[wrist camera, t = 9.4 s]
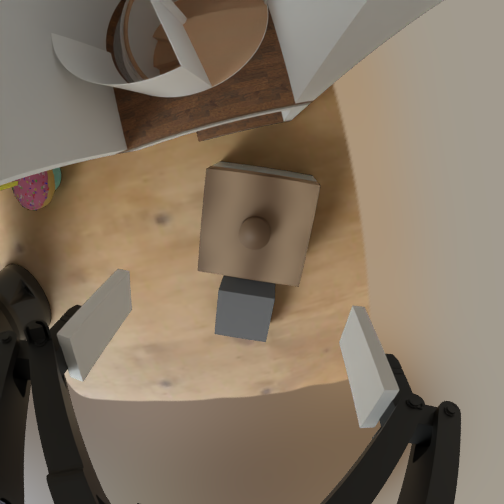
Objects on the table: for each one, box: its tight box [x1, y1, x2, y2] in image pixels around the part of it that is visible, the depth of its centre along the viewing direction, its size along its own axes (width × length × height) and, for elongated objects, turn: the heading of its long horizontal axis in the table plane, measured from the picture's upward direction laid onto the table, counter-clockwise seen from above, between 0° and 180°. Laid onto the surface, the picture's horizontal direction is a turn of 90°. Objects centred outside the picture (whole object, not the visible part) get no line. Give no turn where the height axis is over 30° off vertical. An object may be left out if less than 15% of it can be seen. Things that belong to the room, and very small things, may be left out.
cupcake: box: [0, 168, 61, 210], centre depth 31 cm, size 9×8×12 cm
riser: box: [215, 276, 275, 342], centre depth 40 cm, size 7×7×4 cm
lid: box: [198, 166, 320, 287], centre depth 30 cm, size 11×11×4 cm
